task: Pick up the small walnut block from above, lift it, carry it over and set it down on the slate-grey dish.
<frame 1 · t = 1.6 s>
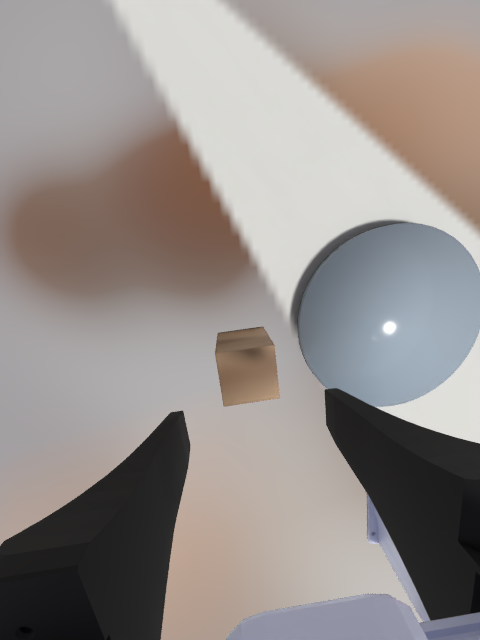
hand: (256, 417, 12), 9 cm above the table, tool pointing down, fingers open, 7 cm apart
slate dish: (385, 320, 21), on the table
walnut block: (243, 351, 21), on the table
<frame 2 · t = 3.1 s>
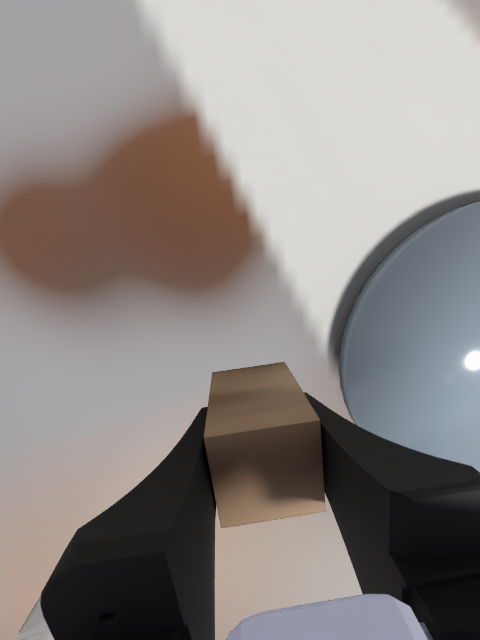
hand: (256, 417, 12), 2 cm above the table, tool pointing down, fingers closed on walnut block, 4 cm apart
slate dish: (476, 350, 13), on the table
white cup: (92, 603, 16), on the table
walnut block: (253, 399, 13), on the table, touching gripper
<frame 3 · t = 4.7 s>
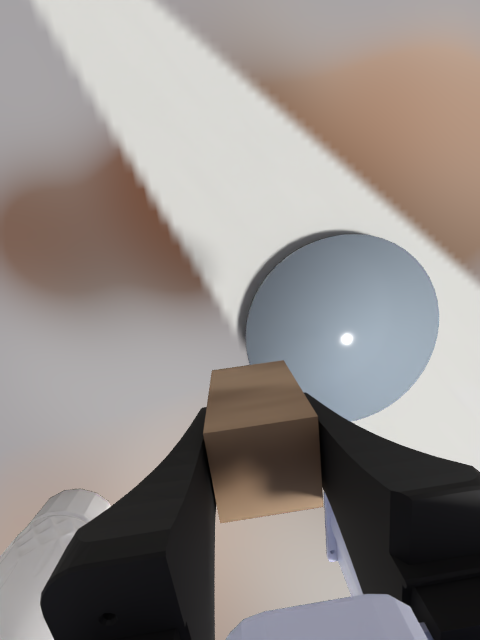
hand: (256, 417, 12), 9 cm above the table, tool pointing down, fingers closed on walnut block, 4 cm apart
slate dish: (338, 334, 20), on the table
white cup: (81, 513, 23), on the table
walnut block: (252, 397, 13), point 7 cm above the table, touching gripper
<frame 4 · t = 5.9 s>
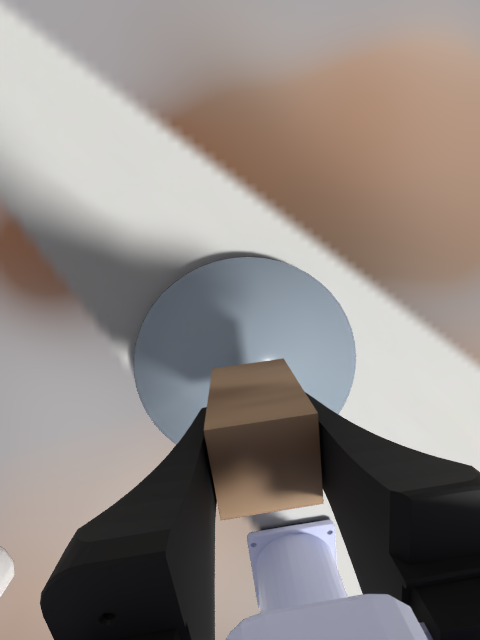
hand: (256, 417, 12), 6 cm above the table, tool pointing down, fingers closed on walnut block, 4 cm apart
slate dish: (246, 365, 18), on the table
walnut block: (252, 395, 13), point 5 cm above the table, touching gripper
when the fingers open (4 cm above the table, at t = 6.8 s): walnut block drops 1 cm, resting on slate dish.
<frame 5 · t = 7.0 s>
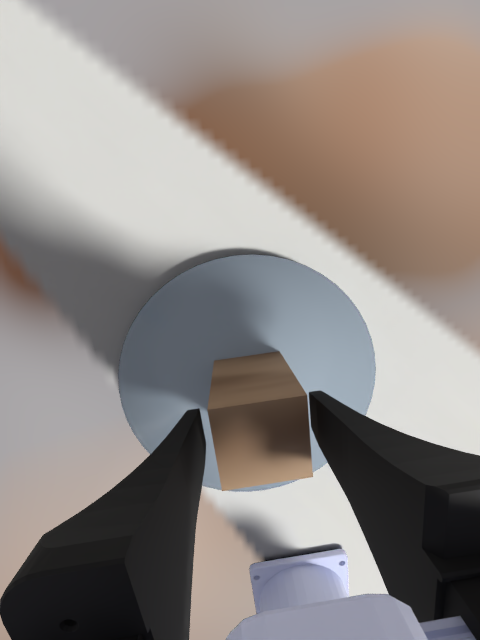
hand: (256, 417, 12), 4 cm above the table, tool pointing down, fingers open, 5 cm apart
slate dish: (249, 379, 16), on the table
walnut block: (250, 385, 15), point 1 cm above the table, touching slate dish
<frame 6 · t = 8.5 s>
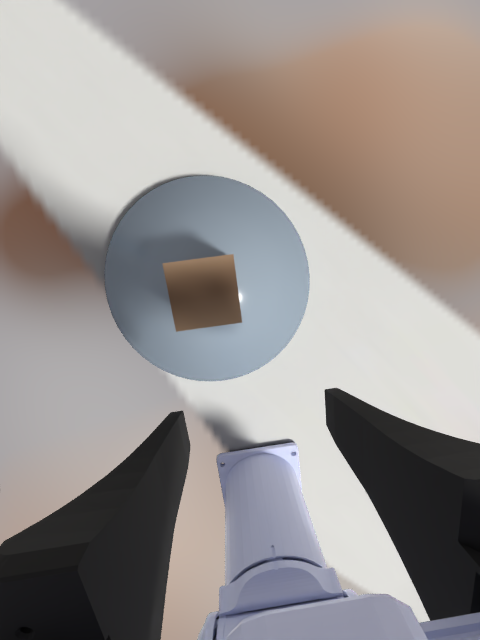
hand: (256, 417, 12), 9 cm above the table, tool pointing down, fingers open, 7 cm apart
slate dish: (210, 287, 19), on the table
walnut block: (209, 286, 18), point 1 cm above the table, touching slate dish
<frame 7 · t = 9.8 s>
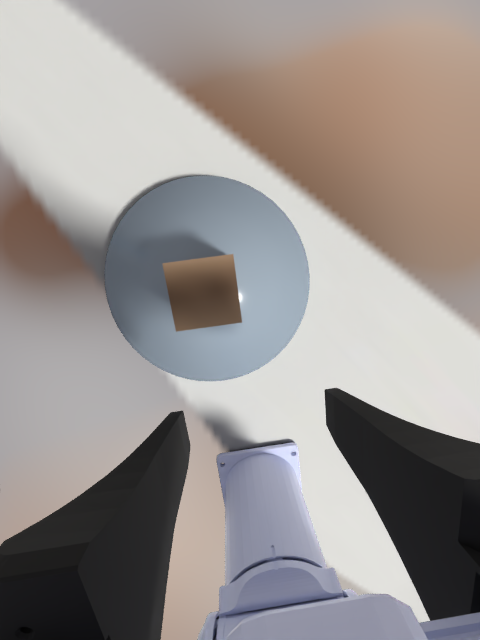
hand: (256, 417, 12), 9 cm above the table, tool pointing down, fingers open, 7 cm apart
slate dish: (210, 287, 19), on the table
walnut block: (209, 286, 18), point 1 cm above the table, touching slate dish
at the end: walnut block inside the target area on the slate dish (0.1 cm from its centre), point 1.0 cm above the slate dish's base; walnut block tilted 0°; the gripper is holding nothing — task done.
